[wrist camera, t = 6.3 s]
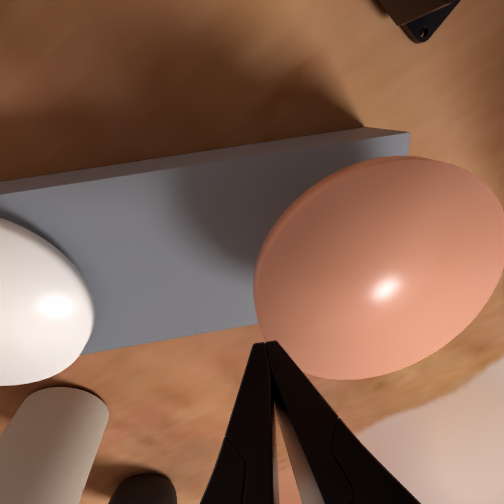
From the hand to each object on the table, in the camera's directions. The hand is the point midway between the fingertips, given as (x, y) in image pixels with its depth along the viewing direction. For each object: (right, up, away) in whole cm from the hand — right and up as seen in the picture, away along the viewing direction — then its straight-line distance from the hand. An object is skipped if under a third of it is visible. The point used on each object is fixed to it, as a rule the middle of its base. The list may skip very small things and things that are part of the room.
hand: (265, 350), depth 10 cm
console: (-6, +5, +11) cm, 13 cm away
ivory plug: (-16, +3, +10) cm, 19 cm away
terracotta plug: (+4, +5, +8) cm, 10 cm away
